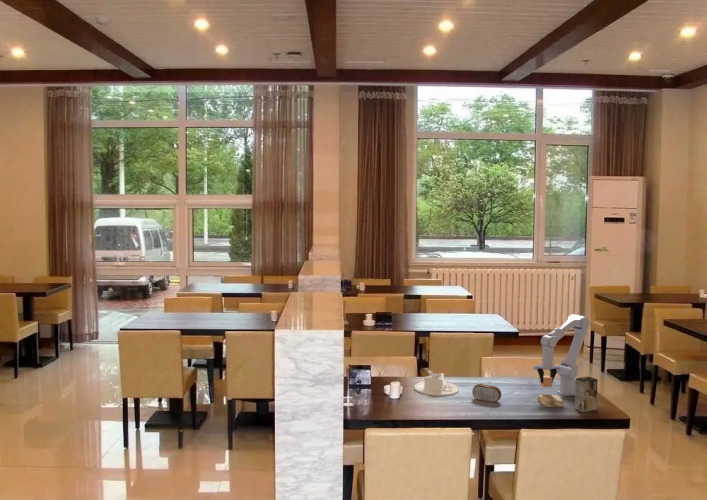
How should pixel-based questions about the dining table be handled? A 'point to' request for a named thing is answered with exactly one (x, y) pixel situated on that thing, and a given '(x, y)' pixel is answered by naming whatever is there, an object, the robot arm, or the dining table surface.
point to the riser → (550, 400)
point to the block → (547, 381)
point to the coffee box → (586, 394)
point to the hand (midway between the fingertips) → (546, 382)
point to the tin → (486, 393)
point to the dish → (436, 386)
